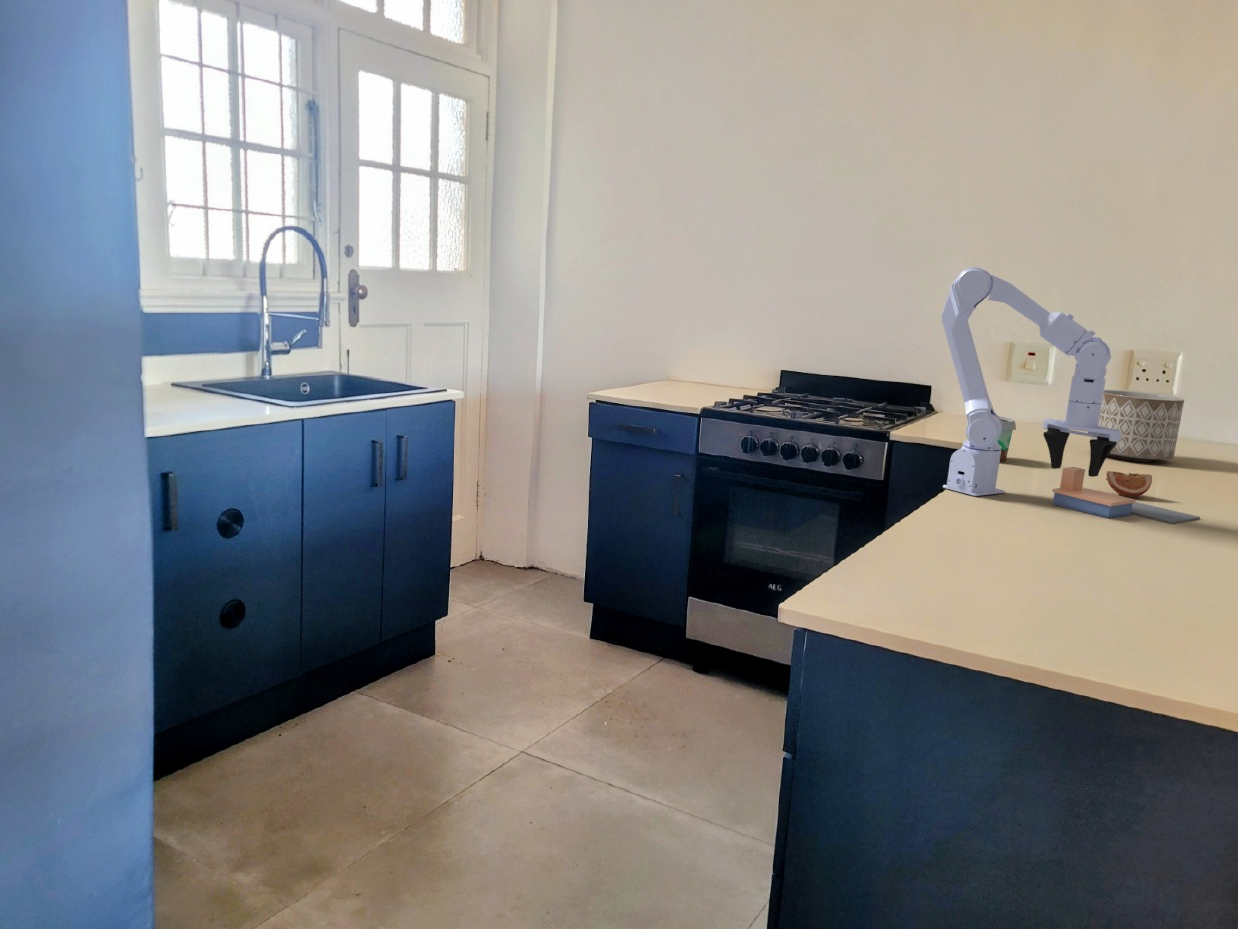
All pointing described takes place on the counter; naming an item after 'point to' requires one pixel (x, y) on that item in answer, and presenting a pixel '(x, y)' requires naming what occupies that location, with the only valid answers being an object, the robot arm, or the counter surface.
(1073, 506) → the blue box
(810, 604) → the counter surface
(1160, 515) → the mat
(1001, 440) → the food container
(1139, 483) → the fruit slice
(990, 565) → the counter surface
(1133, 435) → the planter
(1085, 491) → the lid
